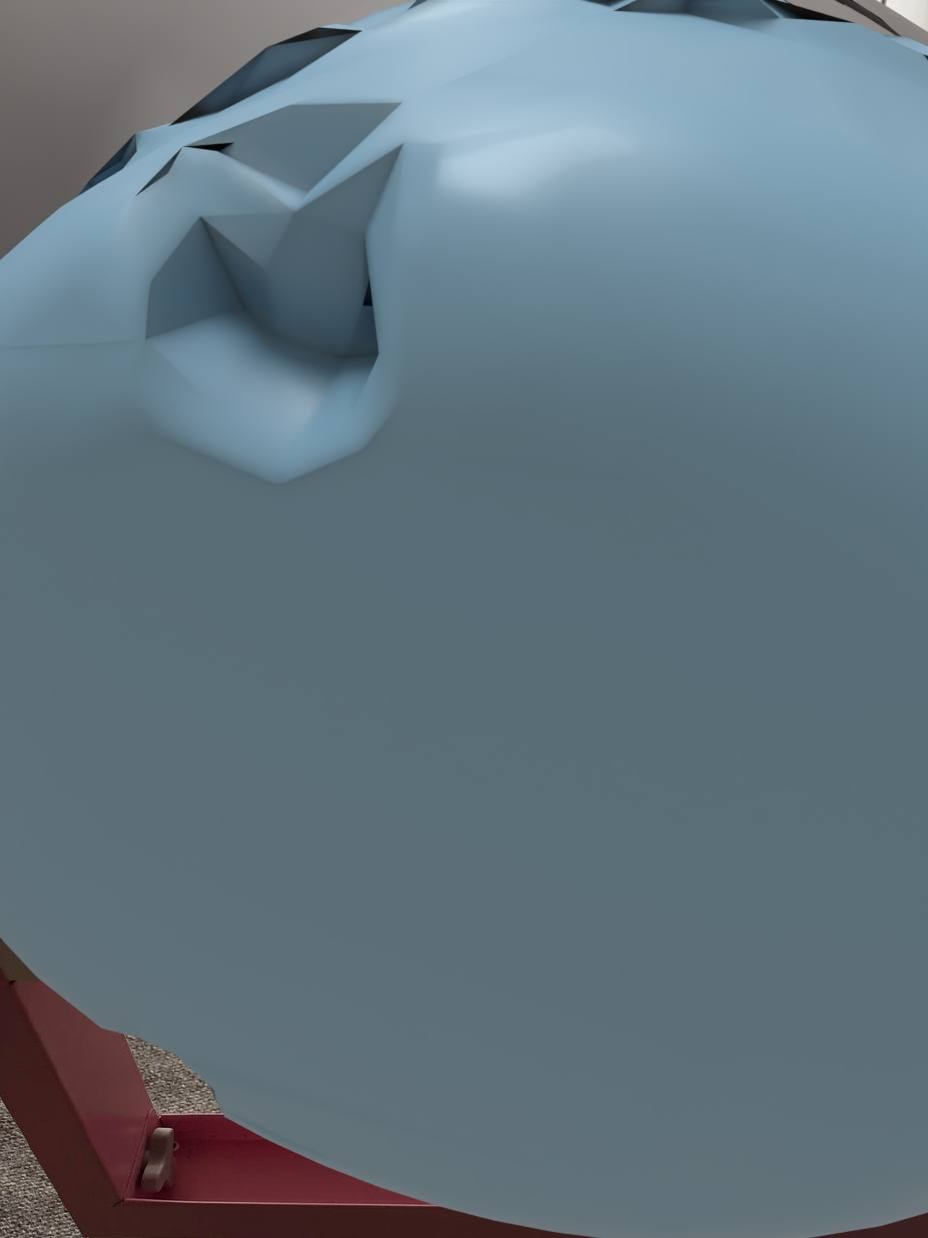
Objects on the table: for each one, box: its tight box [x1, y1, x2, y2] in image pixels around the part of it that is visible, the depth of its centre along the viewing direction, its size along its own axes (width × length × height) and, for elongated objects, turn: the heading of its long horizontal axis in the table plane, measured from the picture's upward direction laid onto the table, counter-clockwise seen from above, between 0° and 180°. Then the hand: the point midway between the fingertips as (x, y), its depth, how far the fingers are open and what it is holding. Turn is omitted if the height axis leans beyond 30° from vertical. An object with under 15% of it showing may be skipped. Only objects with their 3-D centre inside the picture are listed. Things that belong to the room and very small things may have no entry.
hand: (606, 725), depth 48 cm, fingers open, 13 cm apart
